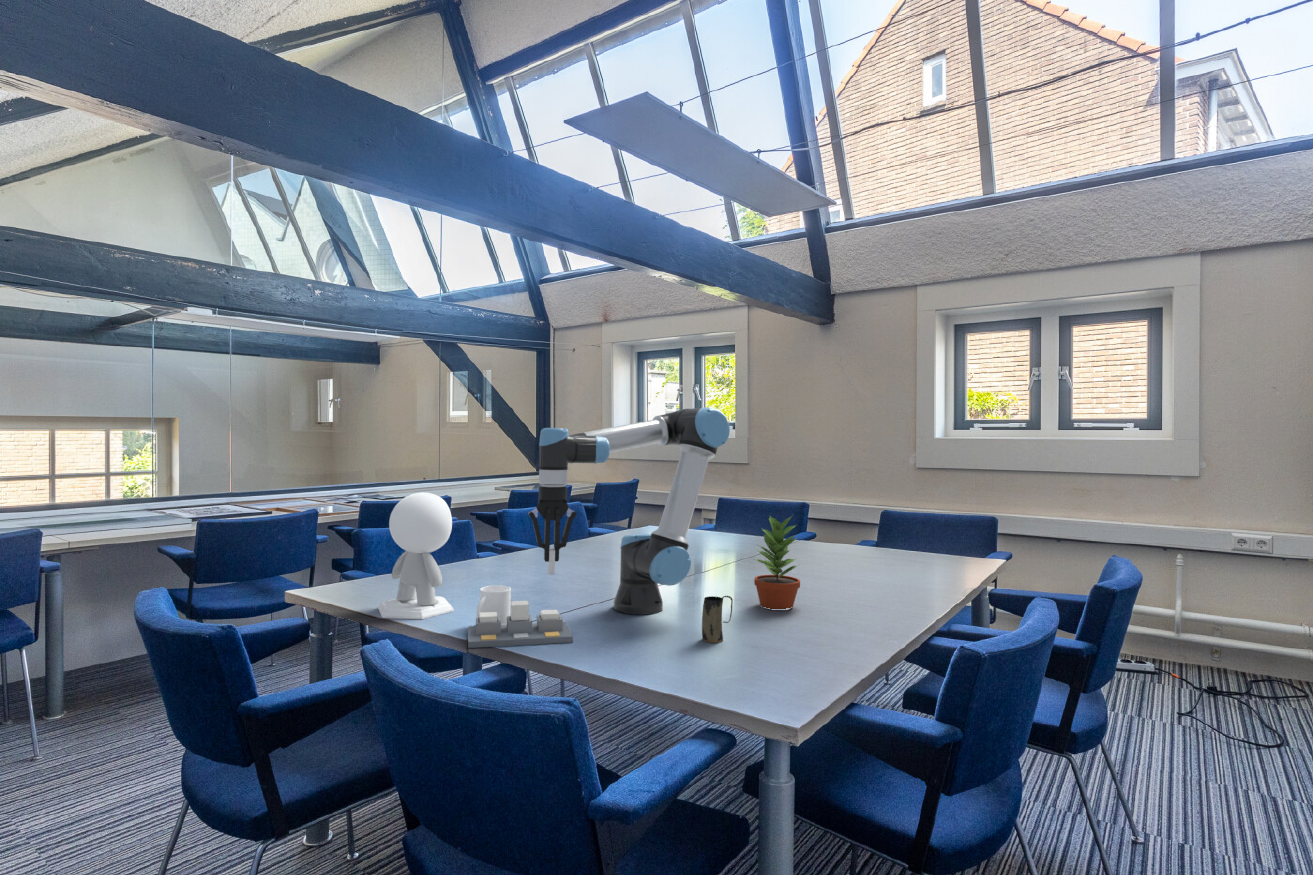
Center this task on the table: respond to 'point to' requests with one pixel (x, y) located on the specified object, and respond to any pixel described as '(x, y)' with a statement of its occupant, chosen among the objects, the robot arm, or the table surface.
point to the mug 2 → (713, 619)
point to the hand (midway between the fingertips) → (551, 573)
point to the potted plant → (777, 569)
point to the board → (518, 632)
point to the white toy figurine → (418, 556)
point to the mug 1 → (495, 601)
